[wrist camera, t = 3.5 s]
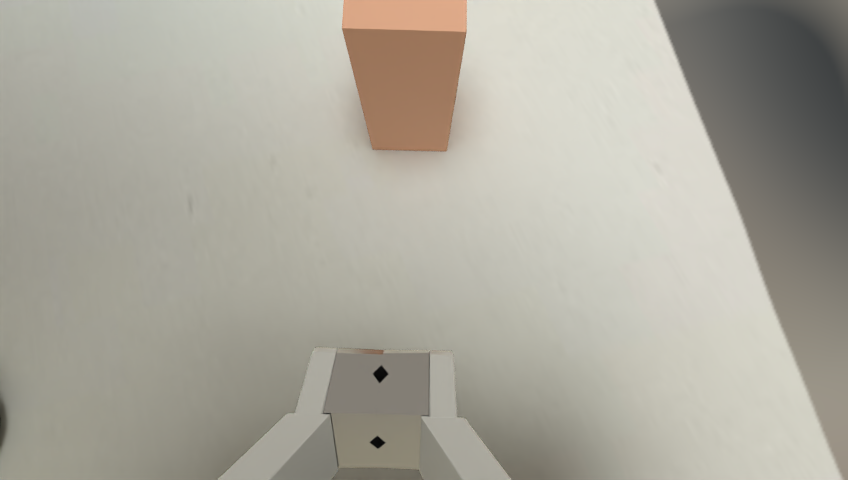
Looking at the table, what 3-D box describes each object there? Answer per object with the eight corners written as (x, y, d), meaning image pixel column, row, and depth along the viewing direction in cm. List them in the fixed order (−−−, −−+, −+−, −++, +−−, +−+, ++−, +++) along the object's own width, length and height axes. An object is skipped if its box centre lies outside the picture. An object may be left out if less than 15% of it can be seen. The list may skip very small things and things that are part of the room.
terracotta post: (372, 149, 24) (342, 28, 14) (375, 81, 25) (348, -77, 15) (446, 151, 24) (466, 31, 14) (447, 83, 25) (466, -74, 15)
